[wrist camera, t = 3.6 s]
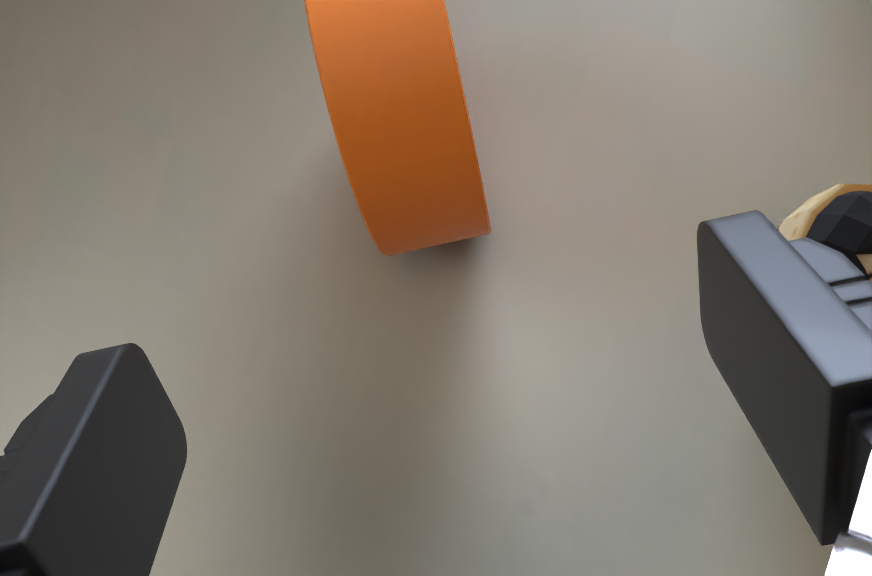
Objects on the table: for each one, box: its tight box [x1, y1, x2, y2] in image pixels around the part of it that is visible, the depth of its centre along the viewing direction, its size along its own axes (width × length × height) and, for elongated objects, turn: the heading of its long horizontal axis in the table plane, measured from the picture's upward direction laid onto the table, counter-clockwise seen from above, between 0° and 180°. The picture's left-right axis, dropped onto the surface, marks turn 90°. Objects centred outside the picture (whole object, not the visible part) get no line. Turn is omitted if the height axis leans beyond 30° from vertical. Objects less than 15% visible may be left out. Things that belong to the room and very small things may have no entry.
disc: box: [304, 0, 491, 256], centre depth 21 cm, size 9×3×9 cm, turn 11°
